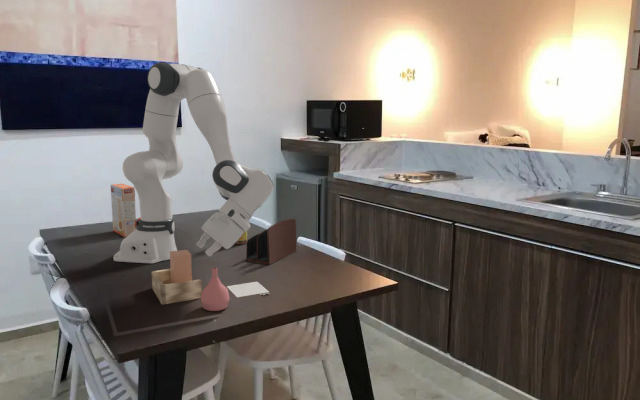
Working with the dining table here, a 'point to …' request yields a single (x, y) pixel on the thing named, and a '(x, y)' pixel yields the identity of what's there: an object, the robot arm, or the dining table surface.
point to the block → (180, 266)
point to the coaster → (248, 289)
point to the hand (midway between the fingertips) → (202, 250)
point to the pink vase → (215, 294)
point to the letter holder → (272, 243)
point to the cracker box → (123, 209)
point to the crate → (174, 288)
